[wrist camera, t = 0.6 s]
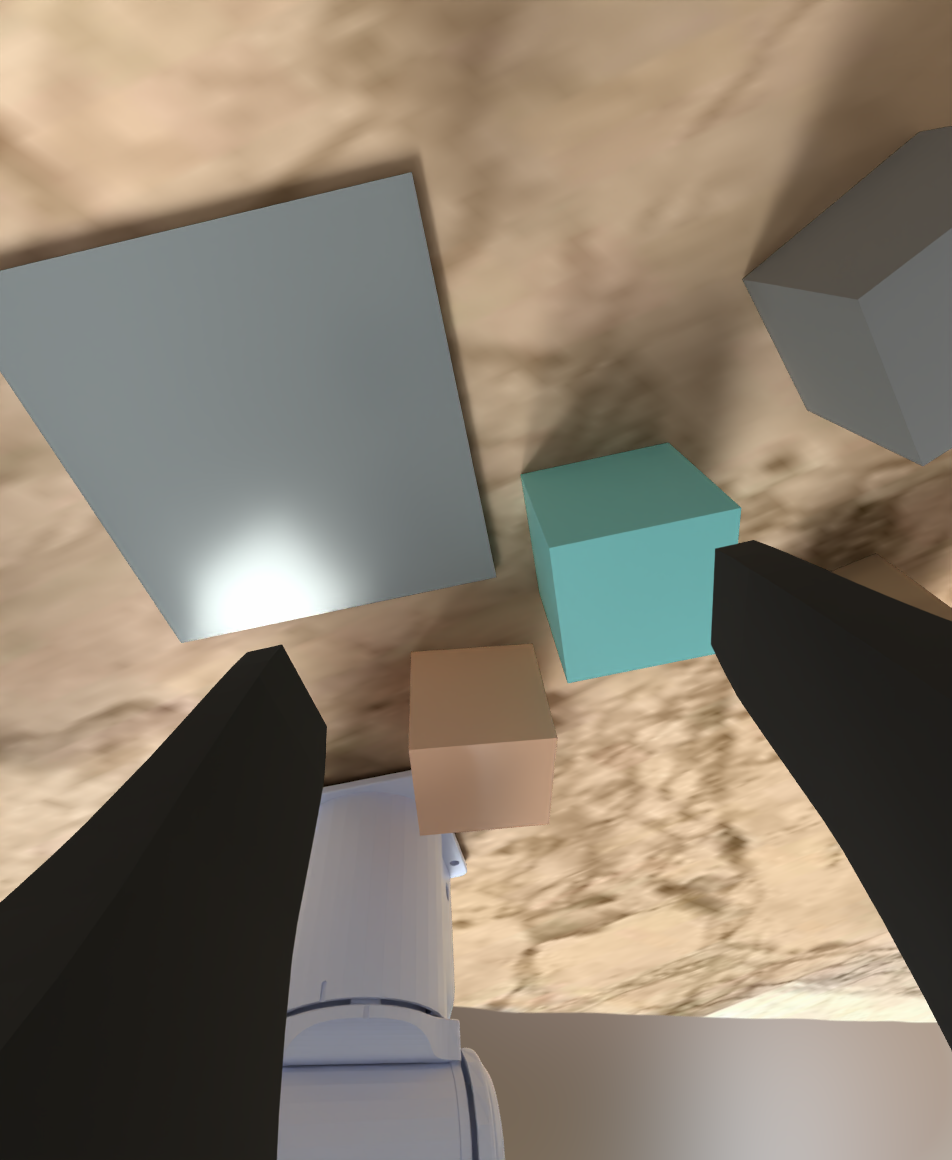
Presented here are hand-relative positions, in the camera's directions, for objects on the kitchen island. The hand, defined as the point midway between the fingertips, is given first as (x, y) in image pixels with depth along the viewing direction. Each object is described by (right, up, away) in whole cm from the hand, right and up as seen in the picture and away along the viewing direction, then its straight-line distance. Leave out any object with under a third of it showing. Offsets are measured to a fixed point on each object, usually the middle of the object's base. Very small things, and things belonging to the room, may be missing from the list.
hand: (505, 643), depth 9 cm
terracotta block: (-1, -4, +14) cm, 15 cm away
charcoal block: (+11, +10, +7) cm, 16 cm away
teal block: (+4, +3, +10) cm, 11 cm away
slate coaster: (-7, +5, +8) cm, 12 cm away
